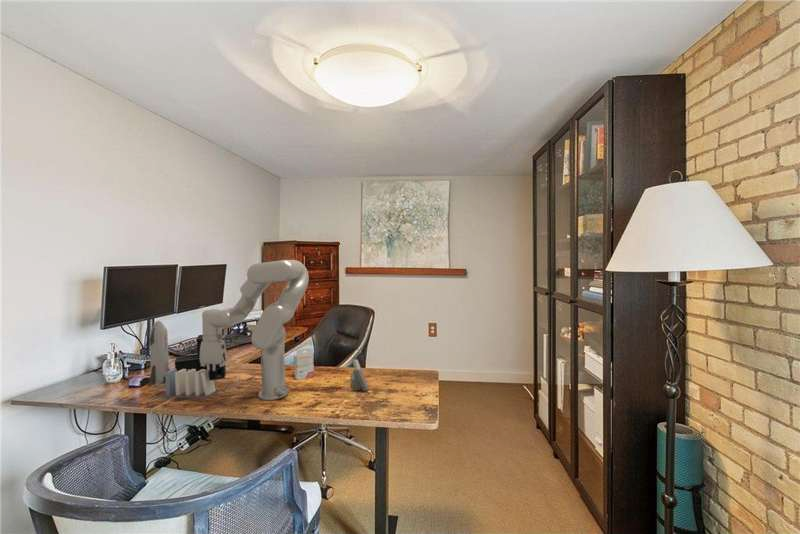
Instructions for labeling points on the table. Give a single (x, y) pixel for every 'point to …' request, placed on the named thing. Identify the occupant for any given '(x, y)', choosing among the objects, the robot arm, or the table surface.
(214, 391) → the mat
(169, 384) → the domino
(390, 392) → the table surface
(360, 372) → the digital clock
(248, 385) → the table surface
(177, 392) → the domino
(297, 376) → the ink cartridge box
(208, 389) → the domino
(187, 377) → the domino
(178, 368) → the black desk organizer
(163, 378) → the rocket model
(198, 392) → the domino
